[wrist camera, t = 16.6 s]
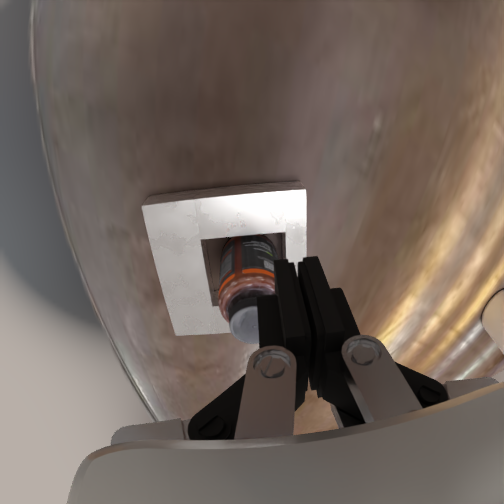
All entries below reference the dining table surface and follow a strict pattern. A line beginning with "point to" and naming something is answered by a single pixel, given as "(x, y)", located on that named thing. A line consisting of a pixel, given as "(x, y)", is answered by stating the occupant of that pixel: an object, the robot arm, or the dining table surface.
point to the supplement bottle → (245, 283)
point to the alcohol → (495, 319)
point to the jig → (216, 226)
